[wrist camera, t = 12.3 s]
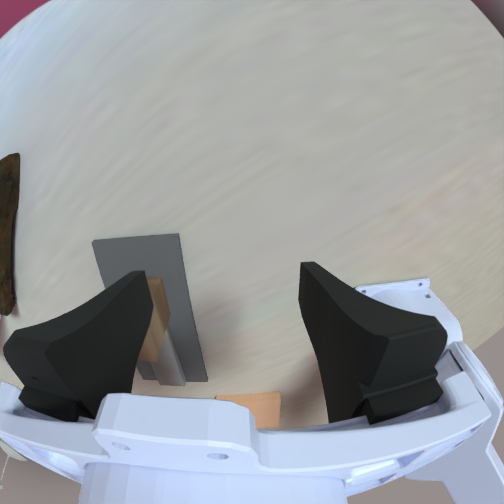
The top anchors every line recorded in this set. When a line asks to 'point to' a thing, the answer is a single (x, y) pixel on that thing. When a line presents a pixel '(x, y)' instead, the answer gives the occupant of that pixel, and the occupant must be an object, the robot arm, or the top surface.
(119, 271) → the tool mat
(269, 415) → the tile
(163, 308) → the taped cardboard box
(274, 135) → the top surface
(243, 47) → the top surface
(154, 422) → the robot arm
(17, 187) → the hand tool
